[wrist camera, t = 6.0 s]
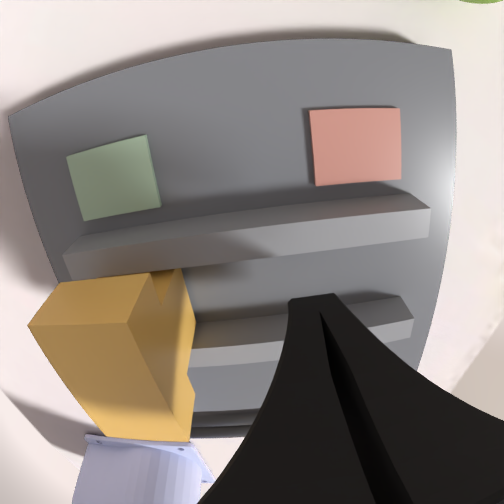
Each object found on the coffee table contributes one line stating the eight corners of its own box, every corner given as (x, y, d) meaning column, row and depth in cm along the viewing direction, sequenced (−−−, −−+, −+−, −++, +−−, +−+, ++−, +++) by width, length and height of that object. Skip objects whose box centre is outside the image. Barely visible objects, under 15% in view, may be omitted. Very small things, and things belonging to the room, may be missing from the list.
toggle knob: (136, 345, 13) (106, 436, 9) (93, 241, 10) (27, 325, 6) (202, 342, 13) (189, 441, 8) (171, 230, 10) (126, 322, 6)
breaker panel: (157, 426, 19) (150, 462, 16) (29, 112, 10) (-18, 123, 7) (392, 401, 18) (405, 436, 16) (430, 52, 9) (476, 47, 6)
